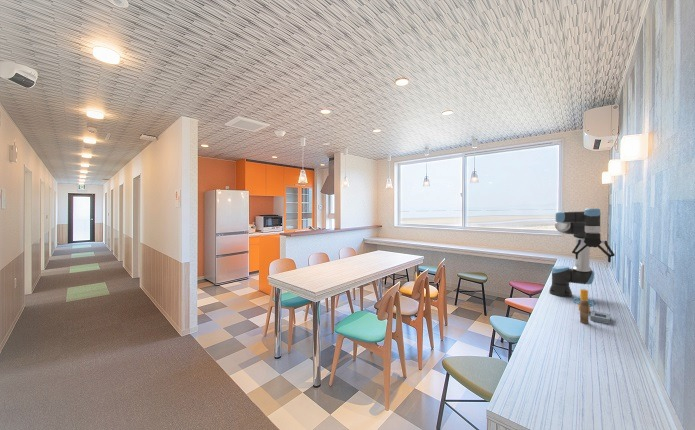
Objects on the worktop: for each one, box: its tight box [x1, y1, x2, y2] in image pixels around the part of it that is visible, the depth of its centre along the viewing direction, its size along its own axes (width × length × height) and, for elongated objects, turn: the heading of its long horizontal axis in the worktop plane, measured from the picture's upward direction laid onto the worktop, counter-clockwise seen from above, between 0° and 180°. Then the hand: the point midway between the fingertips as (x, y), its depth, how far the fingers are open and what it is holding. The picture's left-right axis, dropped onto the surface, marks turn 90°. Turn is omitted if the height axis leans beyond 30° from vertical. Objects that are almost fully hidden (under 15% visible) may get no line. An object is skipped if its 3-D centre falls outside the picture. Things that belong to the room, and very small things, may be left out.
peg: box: [579, 300, 590, 325], centre depth 175 cm, size 4×4×14 cm
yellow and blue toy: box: [572, 288, 596, 313], centre depth 194 cm, size 12×10×15 cm
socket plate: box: [590, 310, 611, 325], centre depth 179 cm, size 12×9×3 cm
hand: (592, 265), depth 175 cm, fingers open, 13 cm apart
